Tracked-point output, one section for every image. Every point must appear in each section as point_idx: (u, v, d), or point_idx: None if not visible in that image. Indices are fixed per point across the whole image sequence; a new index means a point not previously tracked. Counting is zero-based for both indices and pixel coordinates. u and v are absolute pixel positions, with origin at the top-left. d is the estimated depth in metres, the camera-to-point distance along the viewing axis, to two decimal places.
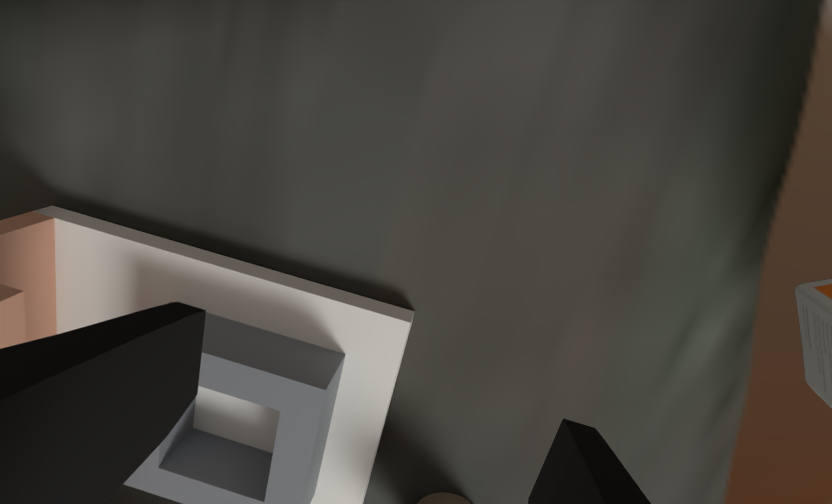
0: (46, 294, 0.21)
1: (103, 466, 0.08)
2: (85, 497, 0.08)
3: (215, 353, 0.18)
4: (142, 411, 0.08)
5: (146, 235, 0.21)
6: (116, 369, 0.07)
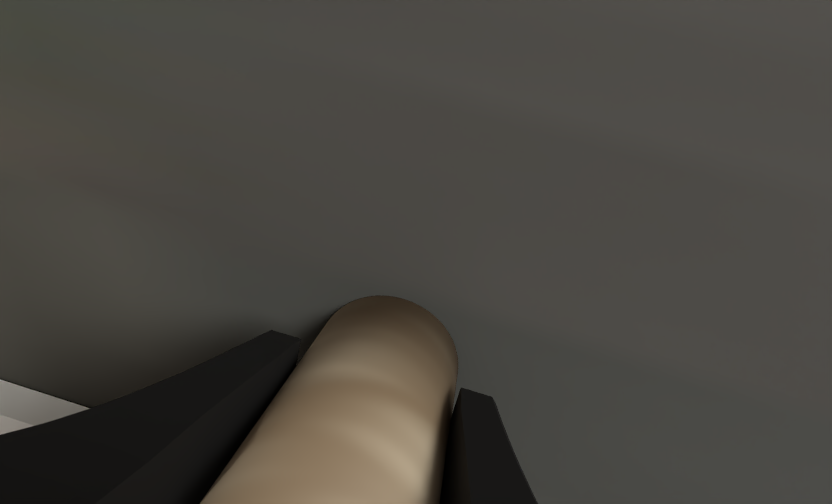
0: None
1: None
2: None
3: None
4: None
5: None
6: (237, 407, 0.07)
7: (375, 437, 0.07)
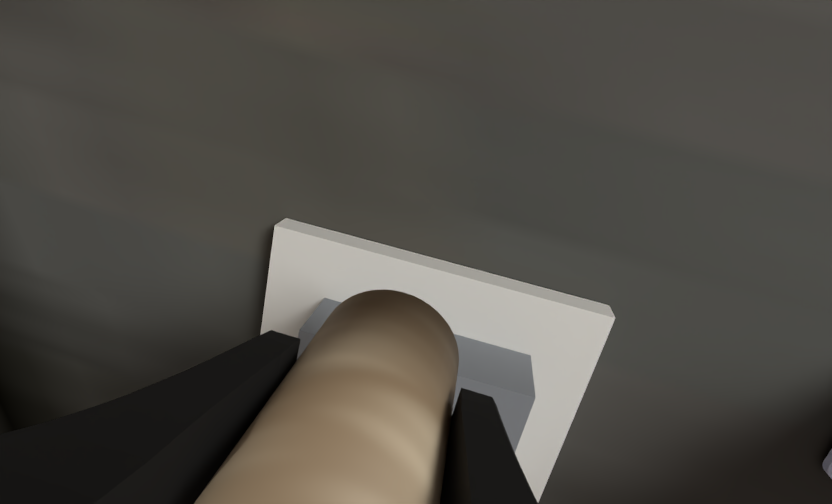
0: None
1: None
2: None
3: None
4: None
5: None
6: (236, 407, 0.07)
7: (378, 423, 0.07)
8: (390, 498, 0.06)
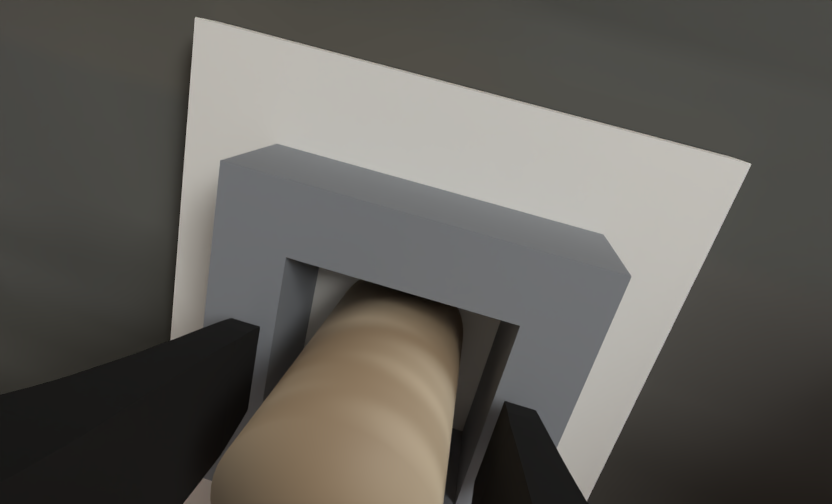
0: None
1: (168, 487, 0.08)
2: None
3: None
4: (203, 430, 0.08)
5: None
6: (185, 391, 0.07)
7: (397, 365, 0.08)
8: (411, 419, 0.07)
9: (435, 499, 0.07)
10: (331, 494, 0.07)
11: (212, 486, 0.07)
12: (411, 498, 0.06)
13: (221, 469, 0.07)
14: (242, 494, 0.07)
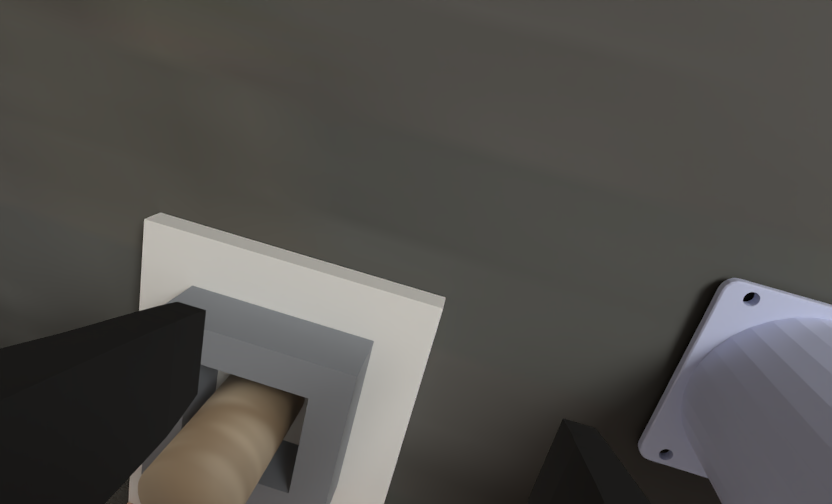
0: None
1: (103, 466, 0.08)
2: (85, 497, 0.08)
3: None
4: (142, 411, 0.08)
5: None
6: (116, 369, 0.07)
7: (231, 429, 0.17)
8: (228, 459, 0.16)
9: (232, 495, 0.15)
10: (188, 491, 0.15)
11: (138, 486, 0.16)
12: (220, 494, 0.15)
13: (141, 480, 0.15)
14: (151, 490, 0.16)
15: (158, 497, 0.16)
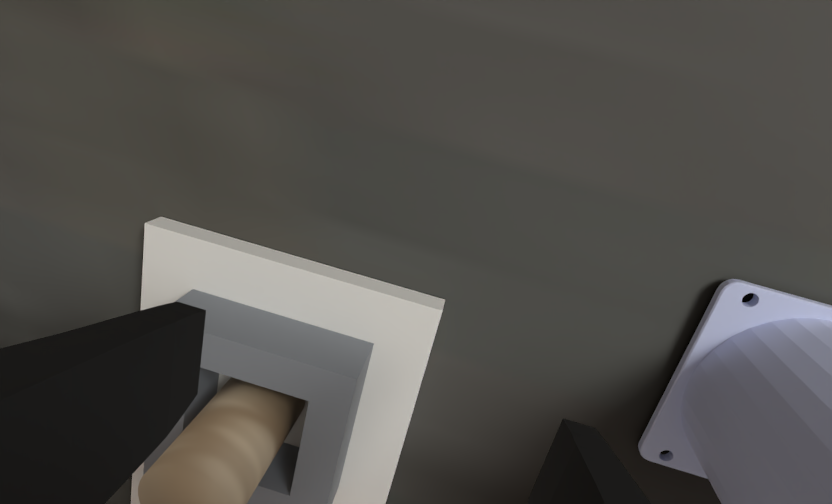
0: None
1: (103, 466, 0.08)
2: (85, 497, 0.08)
3: None
4: (142, 411, 0.08)
5: None
6: (116, 369, 0.07)
7: (232, 432, 0.17)
8: (228, 462, 0.16)
9: (231, 498, 0.15)
10: (187, 494, 0.15)
11: (138, 489, 0.16)
12: (219, 498, 0.15)
13: (141, 482, 0.16)
14: (151, 493, 0.16)
15: (157, 500, 0.16)
